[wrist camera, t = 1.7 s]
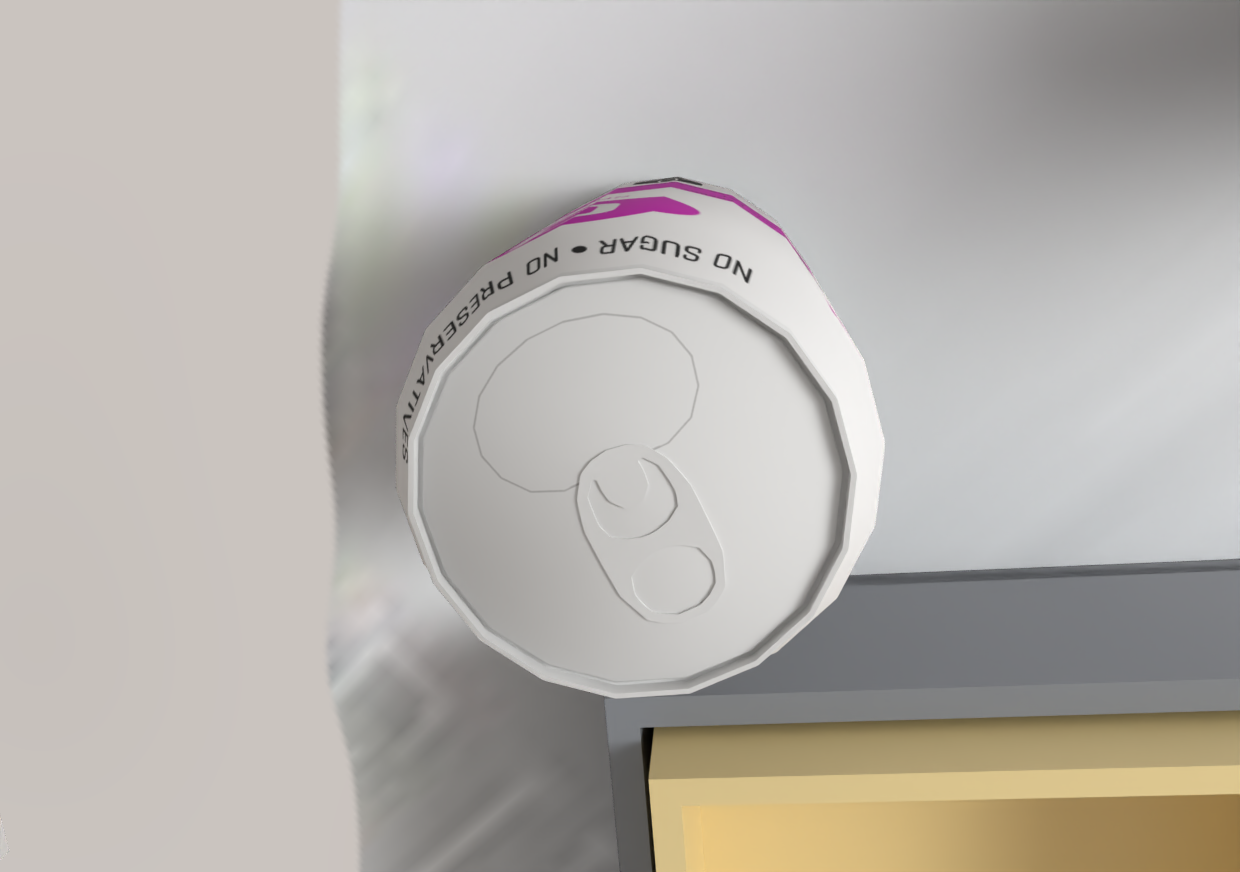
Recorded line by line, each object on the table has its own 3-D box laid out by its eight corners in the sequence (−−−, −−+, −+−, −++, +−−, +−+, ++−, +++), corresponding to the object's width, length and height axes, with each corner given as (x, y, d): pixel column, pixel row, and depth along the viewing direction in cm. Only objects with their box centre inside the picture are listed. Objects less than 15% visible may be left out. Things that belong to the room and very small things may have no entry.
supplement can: (472, 261, 32) (271, 376, 18) (741, 122, 31) (759, 126, 16) (604, 510, 34) (517, 801, 19) (865, 391, 32) (983, 612, 18)
